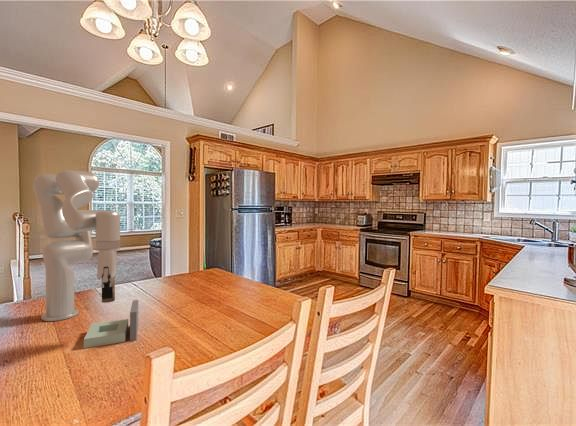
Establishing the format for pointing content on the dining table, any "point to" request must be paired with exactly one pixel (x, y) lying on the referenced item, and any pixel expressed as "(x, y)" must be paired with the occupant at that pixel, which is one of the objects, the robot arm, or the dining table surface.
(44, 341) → the dining table surface
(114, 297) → the walnut peg
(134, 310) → the low wall
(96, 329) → the socket block
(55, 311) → the robot arm
